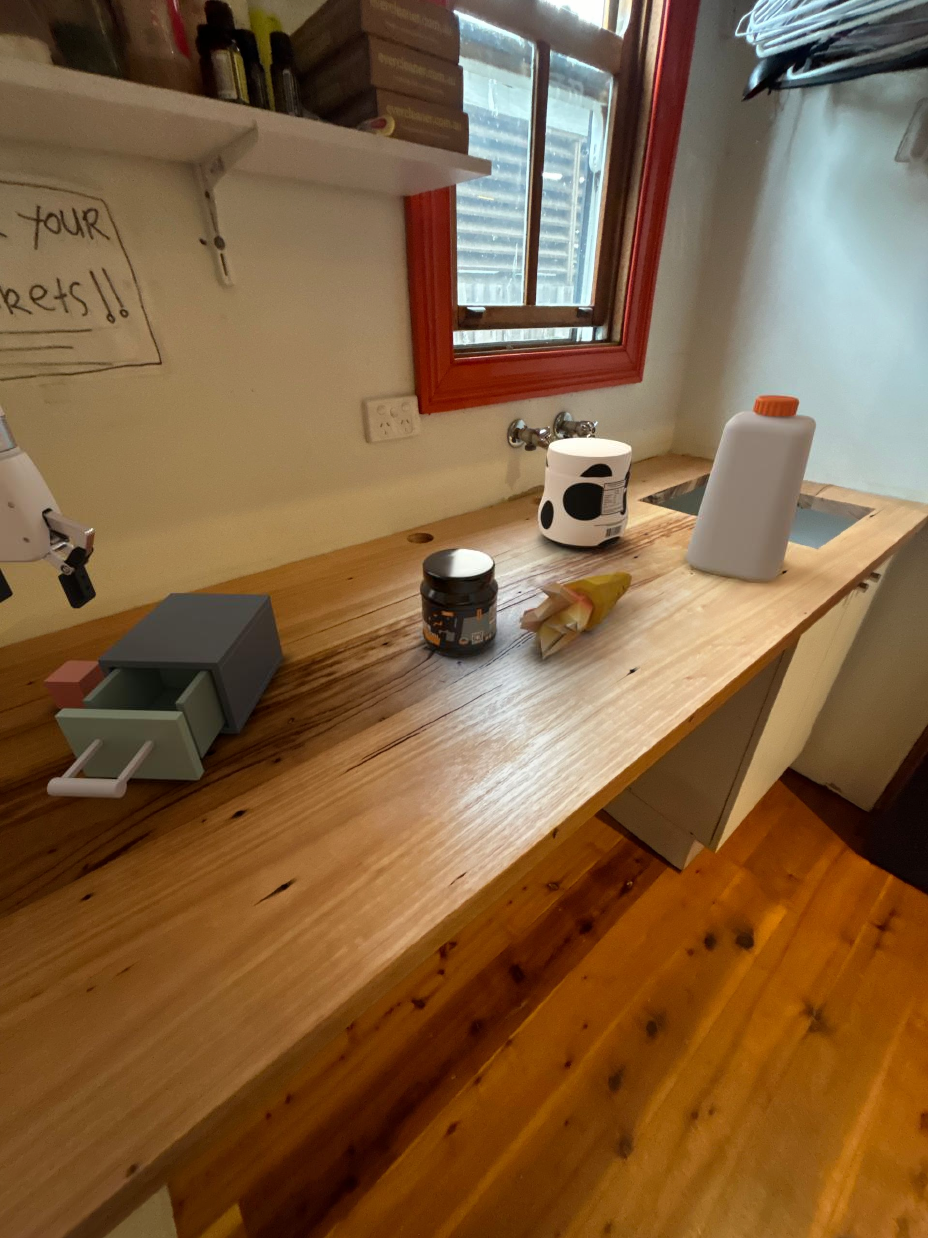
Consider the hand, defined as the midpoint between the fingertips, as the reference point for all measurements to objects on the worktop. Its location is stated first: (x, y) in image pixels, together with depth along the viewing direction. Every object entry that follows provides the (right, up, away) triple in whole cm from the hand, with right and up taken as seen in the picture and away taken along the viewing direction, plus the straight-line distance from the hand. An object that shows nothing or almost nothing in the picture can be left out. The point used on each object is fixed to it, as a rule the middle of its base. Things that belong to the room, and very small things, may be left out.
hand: (42, 602), depth 58 cm
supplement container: (+46, -5, +18) cm, 49 cm away
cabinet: (+15, -11, +8) cm, 20 cm away
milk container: (+69, +14, +49) cm, 86 cm away
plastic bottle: (+95, +8, +39) cm, 103 cm away
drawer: (+14, -16, -2) cm, 22 cm away
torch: (+64, -3, +20) cm, 67 cm away
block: (0, -12, +7) cm, 14 cm away
